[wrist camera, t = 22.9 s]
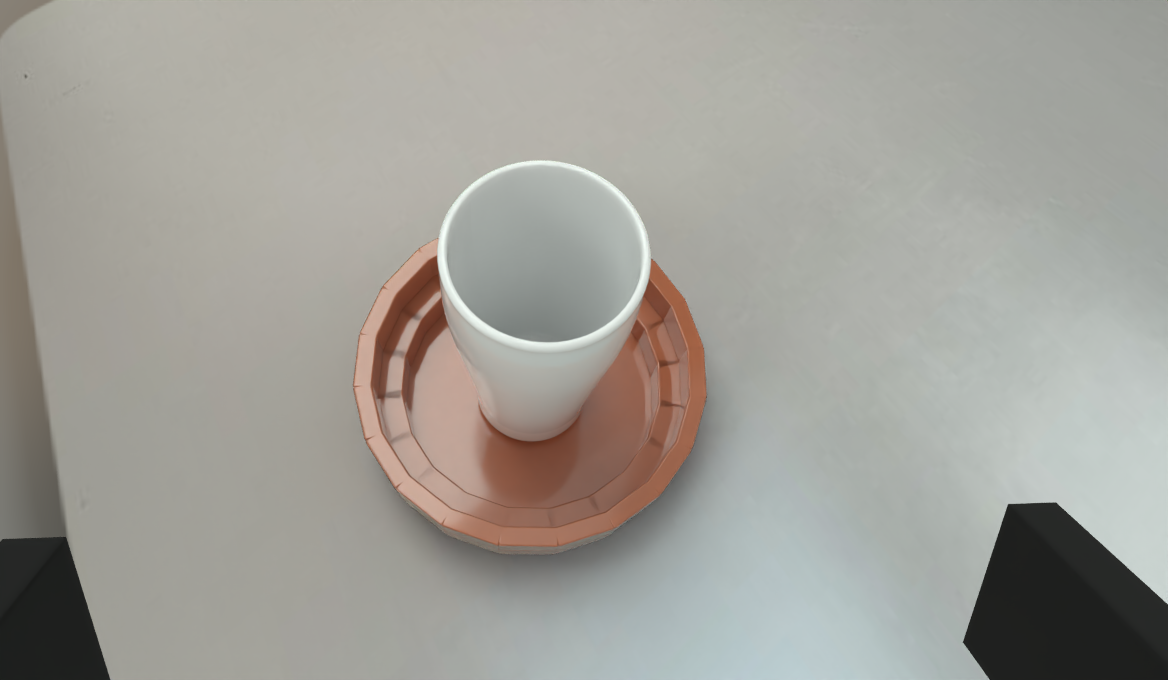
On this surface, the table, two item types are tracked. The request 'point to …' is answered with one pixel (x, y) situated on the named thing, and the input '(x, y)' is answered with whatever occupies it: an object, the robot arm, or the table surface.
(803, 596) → the table surface
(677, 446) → the bowl
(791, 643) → the table surface
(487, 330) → the drinking glass
